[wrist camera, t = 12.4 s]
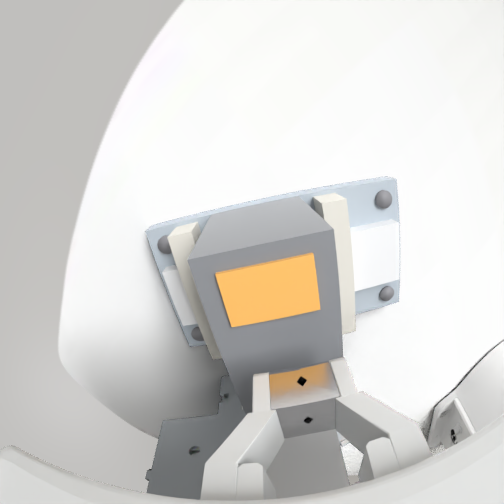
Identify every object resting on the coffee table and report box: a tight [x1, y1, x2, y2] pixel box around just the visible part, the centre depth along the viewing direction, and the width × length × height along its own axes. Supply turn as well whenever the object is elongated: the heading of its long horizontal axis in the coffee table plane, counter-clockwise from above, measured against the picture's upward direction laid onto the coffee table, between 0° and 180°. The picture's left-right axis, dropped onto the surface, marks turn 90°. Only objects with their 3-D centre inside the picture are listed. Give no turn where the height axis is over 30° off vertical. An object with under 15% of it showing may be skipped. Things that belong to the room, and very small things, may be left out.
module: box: [187, 196, 343, 415], centre depth 12 cm, size 8×4×6 cm, turn 12°
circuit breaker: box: [145, 375, 360, 500], centre depth 14 cm, size 8×14×15 cm, turn 109°
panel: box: [146, 176, 400, 360], centre depth 15 cm, size 8×14×3 cm, turn 102°
